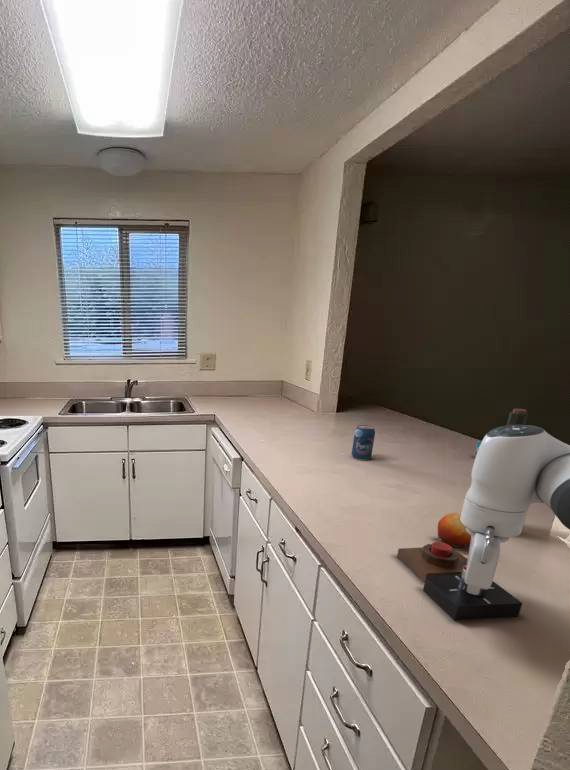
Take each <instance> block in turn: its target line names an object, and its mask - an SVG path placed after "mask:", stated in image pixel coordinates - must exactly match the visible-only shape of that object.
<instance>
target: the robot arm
mask: <svg viewBox="0 0 570 770" xmlns="http://www.w3.org/2000/svg"><path fill="white" fill-rule="evenodd" d="M481 441H482V442H481V444H480V447H479V449H478V452H477V455H476V458H475V457H474V461H473V465H472V469H471V472H470V474H471V475H470V476H471V484H470V487H469V489H468V490H467V492H466V493H465V497H464V500H463V505H462V508H461V512H460V515H461V516H460V521H461V523H462V524H463V525H465V526H466V531H467V532H468V533H469V534H470V535H471V542H470V544H469V547H468V555H467V559H468V560H467V566H466V572H465V579H464V581H465V583H466V584H468V586H467V592H468V593H470V594H474V595H478V594H479V591H480V588H481V589H486V590H488V589H489V588H490V587H491V585H492V582H494V578H495V574H496V570H497V566H498V563H499V559H500V555H501V543H507V542H509V541H510V539H511V538H515V537H518V536H520V535H521V534H522V533H523V528H524V524H525V522H526V518H527V515H528V511H529V509H530V506H531V505H532V504H534V503H539V504H544V505H545V506H547V508H549V509H550V510H551V511H552V513H553V514H554V515H555V516H556V518H557V519H558V521H560V523H561V524H562V525H563V526H564V527H565V528H566V529H568V530H570V445H569V444H568V443H565V442H563V441H561V440H560V439H558V438H555V437H554V436H552V435H551V434H550V433H548V432H547V431H546V430H545V429H544V428H542V427H540V426H536V425H531V424H525V425H507V424H506V425H502V426H498V427H495V428H493V429H491V430H489V431H488V432H487V433H486V434H485V435H484V437H483V439H481Z"/></svg>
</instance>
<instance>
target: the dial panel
mask: <svg viewBox="0 0 570 770" xmlns="http://www.w3.org/2000/svg"><path fill="white" fill-rule="evenodd" d="M459 580H460V576H450V577H430V578H426V579H425V583H424V585H423V589H422V591H423V592H424V593H425V594H426V595H427V596H428V597H429V598H430V599H431V600H432V601H433V602H434V603H435V604H436V605H437V606H439V608H441V609H442V610H443V611H444V612H445V613H446V614H447V615H448V616H449V617H450V618H451V619H452V620H453V621H467V620H469V621H470V620H486V619H503V618H504V619H506V618H518V617H519V616H520V613H521V609H522V606H523V602H522V601H520V600H519V599H518V598H517V597H515V596H514V595H512V594H511V593H510V592H509V591H507V590H505V589H504V588H503V587H501V586H500V585H499V584H497V583H496V582H495V581H493V582H492V585H491V587H490V588H489V589H488V590H487V593H486V595H485V596H473V595H469V594H467V593H465V592H463V591H462V590H460V589H459V587H458V584H459Z"/></svg>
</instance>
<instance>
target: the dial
mask: <svg viewBox="0 0 570 770" xmlns="http://www.w3.org/2000/svg"><path fill="white" fill-rule="evenodd" d="M466 566H467V565H465V566H463V568H462V572H461V576H460V580H459V584H458V587H459V589H460V590H462V591H463V592H465V593H467V594H469V595H473V596H485V595H486V593H487V590H486V589H481V588H480V591H479V594H478V595H474V594H470V593H468V592H467V586H468V584H466V583H465V581H464V579H465V572H466Z"/></svg>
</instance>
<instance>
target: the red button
mask: <svg viewBox="0 0 570 770" xmlns="http://www.w3.org/2000/svg"><path fill="white" fill-rule="evenodd" d="M431 544H432V547H431V552H432V553H433V554H435V555H438V556H442V557H450V555H451V551H452V548H453V547H452V545H450V544H447V543H446V542H441V541H434V542H432V543H431Z"/></svg>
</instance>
